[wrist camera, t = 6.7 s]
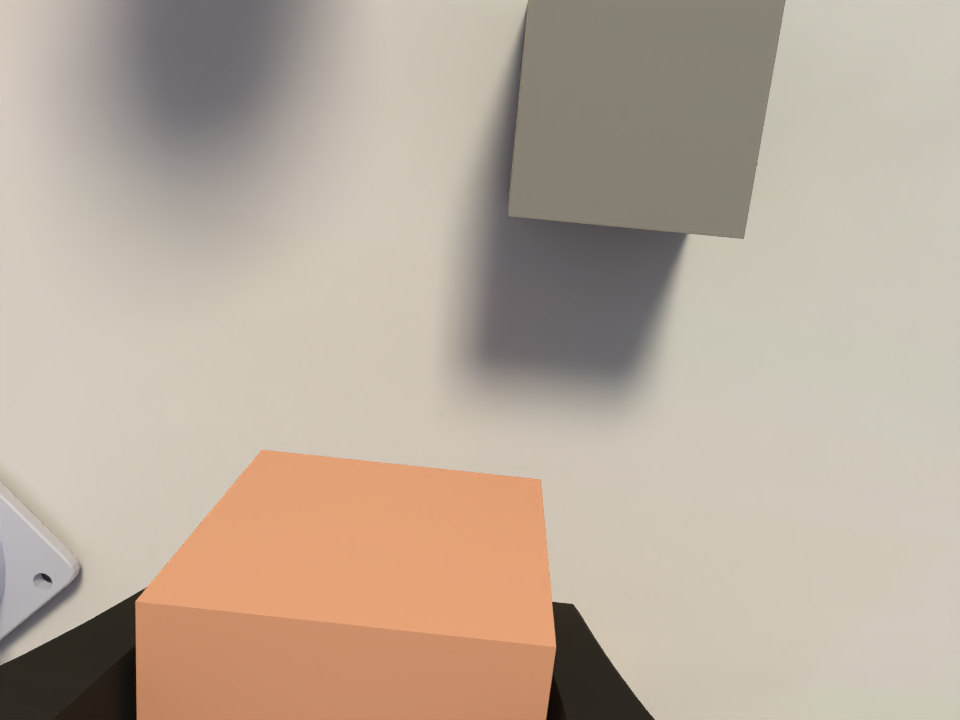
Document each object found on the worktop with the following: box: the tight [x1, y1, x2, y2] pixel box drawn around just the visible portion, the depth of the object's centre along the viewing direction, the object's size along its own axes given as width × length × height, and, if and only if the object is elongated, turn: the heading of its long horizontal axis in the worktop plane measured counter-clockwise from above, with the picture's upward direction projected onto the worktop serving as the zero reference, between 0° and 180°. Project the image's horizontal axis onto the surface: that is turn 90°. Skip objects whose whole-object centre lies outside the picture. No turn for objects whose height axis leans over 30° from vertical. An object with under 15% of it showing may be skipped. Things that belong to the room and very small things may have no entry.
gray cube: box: [508, 0, 785, 239], centre depth 17 cm, size 4×4×4 cm
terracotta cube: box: [135, 450, 556, 720], centre depth 11 cm, size 4×4×4 cm
